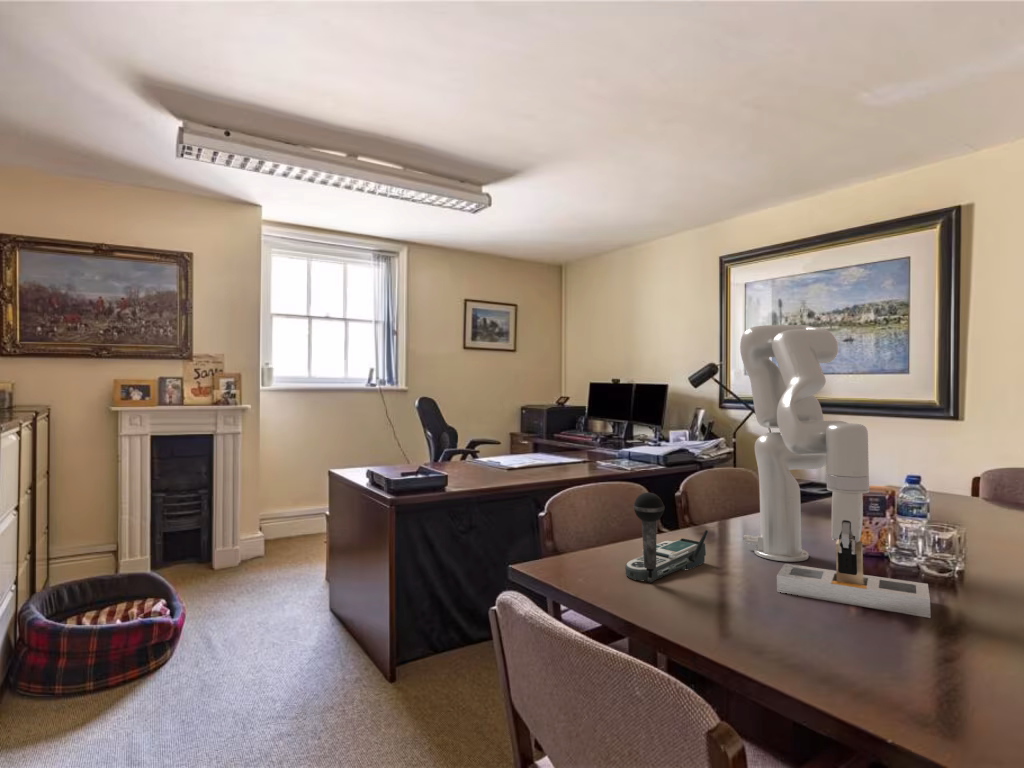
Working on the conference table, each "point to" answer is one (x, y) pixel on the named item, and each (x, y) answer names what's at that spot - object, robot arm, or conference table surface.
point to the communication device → (669, 558)
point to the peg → (859, 576)
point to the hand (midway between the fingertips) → (849, 567)
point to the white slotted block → (856, 590)
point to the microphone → (649, 526)
